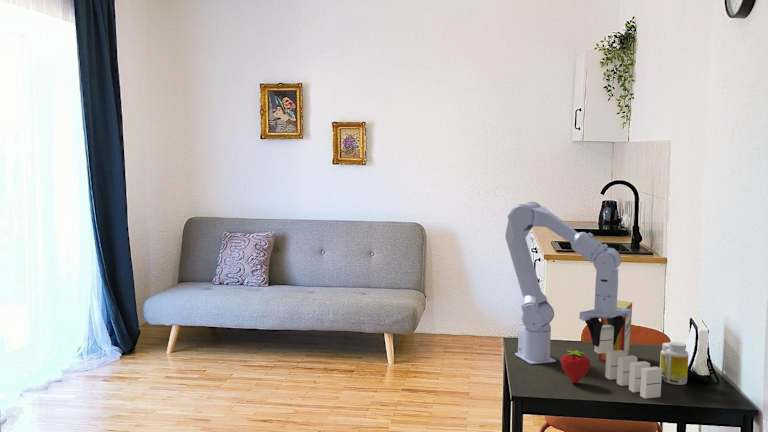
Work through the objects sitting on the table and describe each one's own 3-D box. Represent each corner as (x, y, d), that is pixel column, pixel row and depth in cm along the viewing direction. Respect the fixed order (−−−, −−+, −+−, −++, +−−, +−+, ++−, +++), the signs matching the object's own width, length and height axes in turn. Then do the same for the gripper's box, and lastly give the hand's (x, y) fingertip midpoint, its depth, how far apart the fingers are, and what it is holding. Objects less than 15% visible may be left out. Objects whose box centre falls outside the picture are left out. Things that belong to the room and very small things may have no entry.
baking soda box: (606, 352, 224) (608, 298, 222) (629, 355, 221) (632, 301, 219) (598, 361, 216) (601, 304, 214) (622, 364, 213) (625, 307, 211)
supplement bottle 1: (679, 379, 201) (681, 347, 200) (660, 377, 202) (662, 346, 201) (676, 373, 206) (678, 342, 205) (658, 371, 207) (659, 341, 206)
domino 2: (616, 383, 197) (617, 356, 197) (631, 381, 199) (632, 355, 198) (621, 385, 195) (622, 359, 195) (636, 384, 197) (637, 357, 196)
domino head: (594, 351, 207) (595, 326, 206) (608, 350, 208) (609, 324, 207) (598, 353, 205) (599, 327, 204) (613, 352, 206) (614, 326, 205)
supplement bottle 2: (691, 384, 198) (694, 345, 196) (675, 387, 195) (678, 347, 194) (674, 377, 203) (677, 339, 201) (659, 380, 200) (661, 341, 199)
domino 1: (605, 377, 202) (606, 351, 201) (619, 375, 203) (620, 349, 203) (609, 379, 200) (611, 353, 199) (624, 378, 202) (625, 352, 201)
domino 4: (640, 395, 188) (641, 368, 188) (655, 394, 190) (656, 366, 189) (645, 398, 187) (646, 370, 186) (660, 396, 188) (662, 368, 187)
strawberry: (583, 389, 192) (585, 350, 191) (555, 383, 197) (557, 344, 196) (593, 383, 197) (595, 345, 196) (565, 377, 201) (567, 339, 200)
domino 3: (628, 389, 193) (630, 362, 192) (643, 388, 194) (645, 361, 193) (633, 392, 191) (635, 364, 190) (648, 390, 192) (650, 363, 191)
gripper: (591, 299, 198) (588, 351, 200) (638, 296, 203) (636, 346, 205) (575, 293, 205) (573, 343, 207) (622, 290, 210) (620, 339, 211)
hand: (603, 344), depth 206 cm, fingers closed on domino head, 4 cm apart
